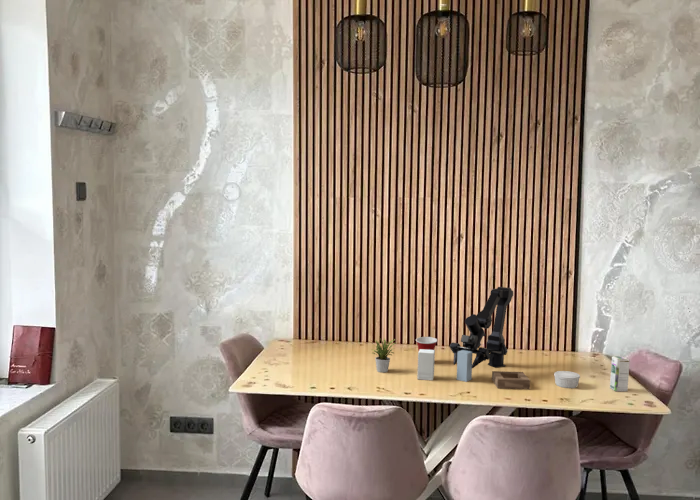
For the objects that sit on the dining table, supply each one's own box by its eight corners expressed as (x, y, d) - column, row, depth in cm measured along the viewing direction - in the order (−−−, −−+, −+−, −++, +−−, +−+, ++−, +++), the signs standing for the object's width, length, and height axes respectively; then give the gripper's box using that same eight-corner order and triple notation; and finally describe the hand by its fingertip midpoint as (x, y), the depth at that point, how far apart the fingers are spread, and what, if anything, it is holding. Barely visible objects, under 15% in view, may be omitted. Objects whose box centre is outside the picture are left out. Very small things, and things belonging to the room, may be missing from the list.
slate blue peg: (461, 377, 313) (462, 349, 312) (471, 379, 310) (472, 351, 308) (456, 379, 309) (457, 351, 308) (466, 381, 306) (467, 353, 305)
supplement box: (433, 380, 306) (434, 353, 305) (416, 379, 308) (417, 352, 307) (434, 376, 314) (435, 349, 313) (418, 375, 315) (419, 348, 314)
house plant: (404, 369, 324) (405, 336, 323) (393, 376, 312) (394, 341, 310) (377, 366, 330) (377, 333, 329) (365, 372, 318) (366, 338, 316)
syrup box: (609, 387, 300) (611, 355, 299) (621, 387, 301) (623, 355, 300) (615, 391, 295) (617, 359, 293) (628, 391, 295) (630, 359, 294)
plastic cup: (412, 363, 336) (413, 340, 335) (418, 358, 346) (419, 335, 345) (433, 366, 332) (434, 342, 331) (439, 361, 342) (439, 338, 341)
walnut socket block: (491, 379, 310) (492, 371, 310) (522, 380, 310) (522, 371, 309) (497, 388, 296) (498, 379, 296) (529, 389, 296) (530, 380, 295)
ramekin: (566, 390, 296) (567, 378, 295) (548, 383, 305) (548, 372, 305) (585, 387, 301) (585, 375, 300) (566, 381, 311) (567, 369, 310)
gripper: (452, 325, 316) (439, 352, 308) (488, 331, 305) (476, 359, 297) (459, 339, 323) (447, 366, 315) (495, 345, 311) (483, 373, 304)
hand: (463, 366), depth 308 cm, fingers open, 9 cm apart
